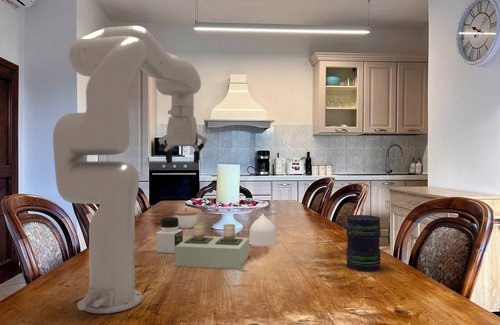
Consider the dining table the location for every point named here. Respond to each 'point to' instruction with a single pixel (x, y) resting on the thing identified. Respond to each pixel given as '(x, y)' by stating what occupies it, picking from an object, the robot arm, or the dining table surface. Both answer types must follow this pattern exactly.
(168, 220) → the medicine bottle
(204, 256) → the sage block
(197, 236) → the peg left
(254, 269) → the dining table surface
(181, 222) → the lidded jar
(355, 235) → the storage jar
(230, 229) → the peg right
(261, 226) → the teardrop
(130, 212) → the robot arm
